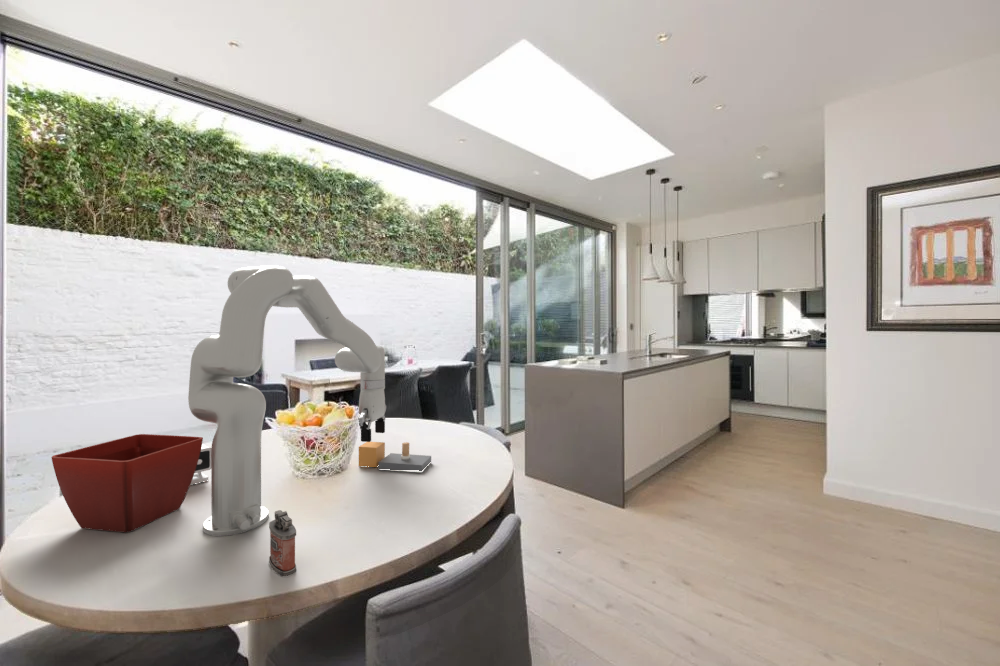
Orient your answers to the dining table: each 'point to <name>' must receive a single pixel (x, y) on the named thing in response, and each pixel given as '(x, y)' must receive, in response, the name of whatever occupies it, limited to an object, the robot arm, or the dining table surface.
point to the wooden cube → (371, 453)
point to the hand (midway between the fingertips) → (373, 436)
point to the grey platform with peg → (404, 460)
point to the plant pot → (127, 480)
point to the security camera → (202, 465)
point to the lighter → (282, 544)
